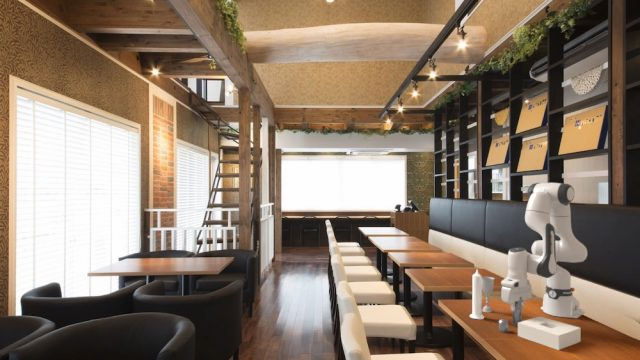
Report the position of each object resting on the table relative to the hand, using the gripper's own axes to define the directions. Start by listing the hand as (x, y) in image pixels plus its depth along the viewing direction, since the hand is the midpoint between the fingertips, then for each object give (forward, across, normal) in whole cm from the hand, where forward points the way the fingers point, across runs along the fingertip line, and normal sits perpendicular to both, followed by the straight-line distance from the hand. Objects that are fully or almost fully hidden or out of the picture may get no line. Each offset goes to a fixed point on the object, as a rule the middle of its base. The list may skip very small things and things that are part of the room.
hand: (517, 309), depth 196 cm
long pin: (+8, 0, 0) cm, 8 cm away
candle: (+8, +8, -17) cm, 20 cm away
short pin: (+8, +14, +2) cm, 16 cm away
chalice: (+8, -6, -21) cm, 23 cm away
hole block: (+8, +5, +18) cm, 20 cm away
